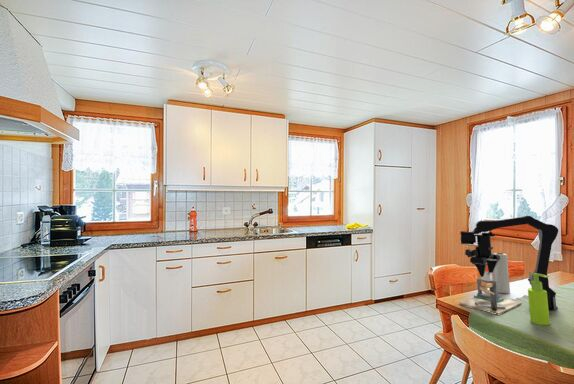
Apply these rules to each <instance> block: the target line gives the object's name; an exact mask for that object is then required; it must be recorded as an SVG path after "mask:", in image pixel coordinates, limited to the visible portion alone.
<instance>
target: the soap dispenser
mask: <svg viewBox="0 0 574 384" xmlns="http://www.w3.org/2000/svg"><path fill="white" fill-rule="evenodd" d="M530 273H531V275H533V279H534V280H533V281H531V285H530V286H531V287H530V288H527V294H528V305H529V306H528V307H529V318H530V322H531V323H532V324H536V325H540V326H550V324H551V323H550V310H548V299H547V291H545V290H543V289H542V282H540V281H539V276H542V277H545V278H546V277H548V278H549V277H550V276H549V275H548V274H547V275H544V274H539V273H533V272H530Z"/></svg>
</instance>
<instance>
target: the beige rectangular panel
mask: <svg viewBox="0 0 574 384" xmlns="http://www.w3.org/2000/svg"><path fill="white" fill-rule="evenodd" d="M496 301H497V311H494V310H491V300H490V298H486V297H482V296H477V293H476V294H474V295H473V297H471V298H468V299H465V300H462V301H460V302H458V305H459V306H463V307H464V308H465V307H466V308H469V309H473V310H476V311H480V310H486V311H490V312H493V313H496V314H501V313H503V314H505V313H507V312H506V311H508V310H510V309H512V308H514V307H516V306H518V305H520V304H523V303H522V302H521V301H518V300H517V301H516V300H513V299H507V298H502V297H500V298H499V299H497V300H496ZM520 306H521V305H520ZM518 307H519V306H518ZM516 308H517V307H516ZM514 309H515V308H514ZM512 310H513V309H512ZM510 311H511V310H510ZM504 312H505V313H504ZM508 312H509V311H508ZM501 315H502V314H501Z"/></svg>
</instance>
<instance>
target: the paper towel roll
mask: <svg viewBox="0 0 574 384" xmlns="http://www.w3.org/2000/svg"><path fill="white" fill-rule="evenodd" d="M492 254H498V255H499V256H500V260H498V261H499V262H498V263H497V265H496V267H495V269H494V271H493V273H492V279H493V281H498V293H501V294H510V293H511V288H510V287H511V286H510V275H509V274H510V272H509V263H508V254H507V253H501V252H492Z"/></svg>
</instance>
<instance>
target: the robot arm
mask: <svg viewBox="0 0 574 384" xmlns="http://www.w3.org/2000/svg"><path fill="white" fill-rule="evenodd" d="M521 225H529V227H532V228H534V229H536V230H537V232H538V233H537V234H538V238H539V245H538V251H537V257H536V263H535V268H534V271H533V272H528V276H529V277H528V279H527V281H528V283H529V285H530V286H531V281H533V280H534V279H533V275H531V273H539V274H544V275H547V276H548V270H549V269H548V268H549V263H550V258H551V252H552V245H553V243H555V242H554V241H555V240H556V238H557V236H558V234H559V229H558V227H557V226H556V225H554V224H550V223H546V222H543V221H541V220H539V219H536V218H534V217H533V216H531V215H524V216H518V217H511V218H504V219H498V220H491V219H490V220H489V219H488V220H479V221H477V222H476V224H475V228H474V229H473V230H472V231H462V230H461V231H460V244H461V245H474V244H475V243H477V246H475V249H472V250H471V249H470V248H468V249H465V251H464V256H467V258H469V262H470V263H471V264H472V265H474V266H475V268H476V269H477V271H478V274H479V276H480V278H481V277H483V276H484V273H485V272H486V270H488V272H492V274H493V271H494V269H495V267H496V265H497V263H498V262H499V261H498V260H500V256H499V255H498V254H492V253H493V252H492V250H493V249H494V246H492V241H491V240H492V239H491V237H496V234H494V233H492V231H494V230H496V229H500V228H506V227H514V226H521ZM539 281H540V282H542V289H543V290H545V291H547V299H548V310H549V311H551V312H552V311H555V310H557V309H558V308H559V307H558V306H557V298H556V295H557V292H555V291H554V289H552V288H551V287H550V283H549V277H546V278H545V277H542V276H539Z"/></svg>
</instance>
